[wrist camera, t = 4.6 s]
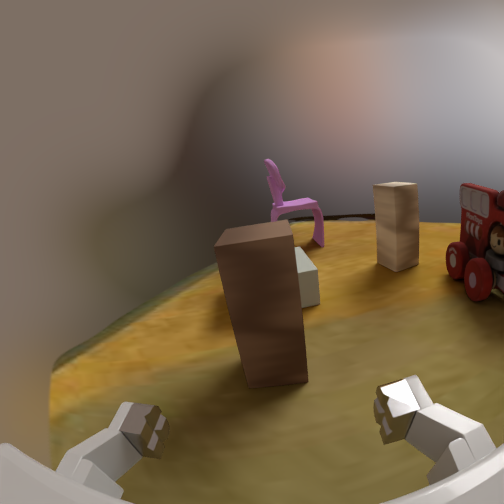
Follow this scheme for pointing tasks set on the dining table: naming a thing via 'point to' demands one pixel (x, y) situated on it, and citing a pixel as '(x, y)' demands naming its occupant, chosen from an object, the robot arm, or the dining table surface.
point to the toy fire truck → (479, 242)
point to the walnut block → (264, 302)
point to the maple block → (397, 224)
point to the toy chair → (292, 202)
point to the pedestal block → (307, 279)
